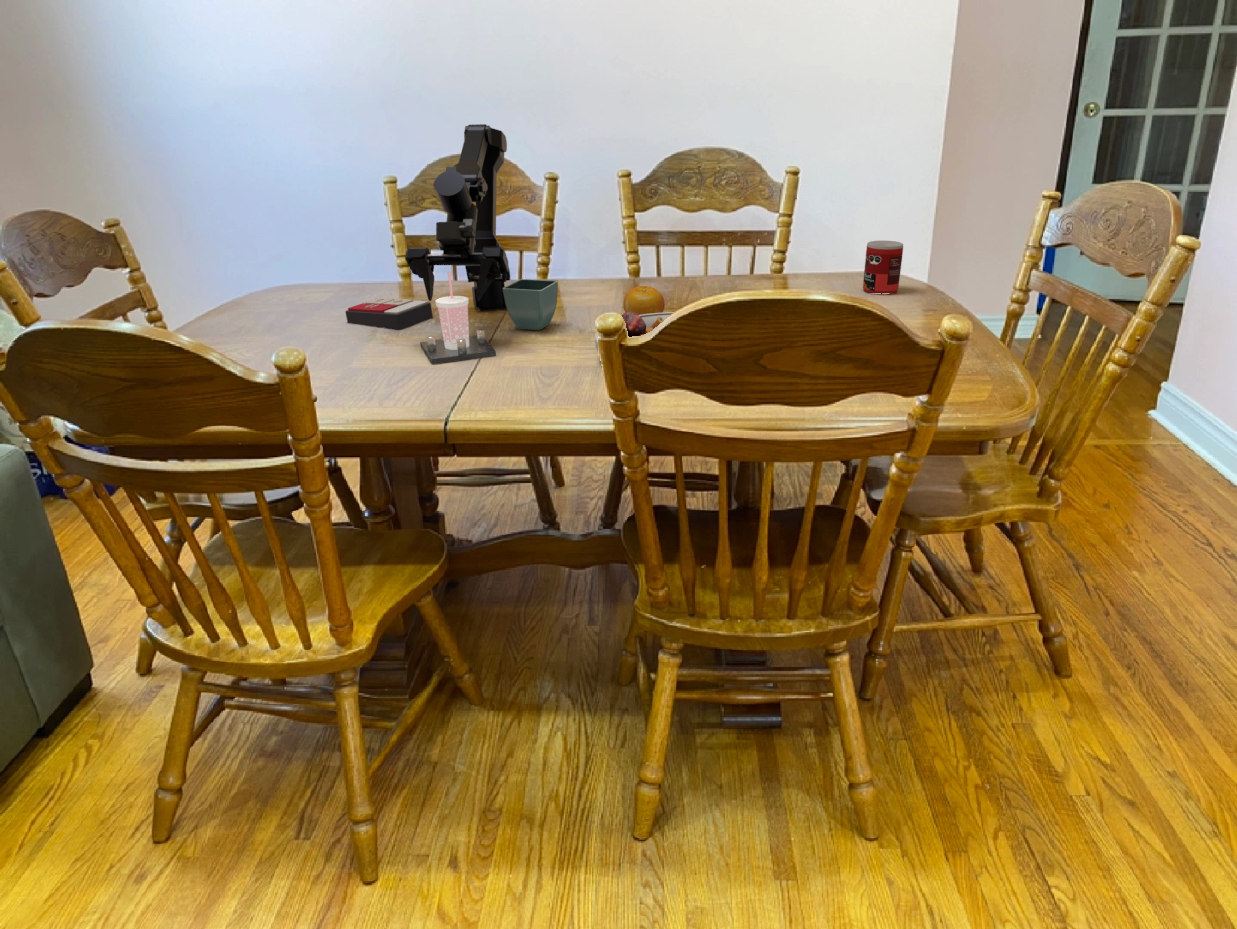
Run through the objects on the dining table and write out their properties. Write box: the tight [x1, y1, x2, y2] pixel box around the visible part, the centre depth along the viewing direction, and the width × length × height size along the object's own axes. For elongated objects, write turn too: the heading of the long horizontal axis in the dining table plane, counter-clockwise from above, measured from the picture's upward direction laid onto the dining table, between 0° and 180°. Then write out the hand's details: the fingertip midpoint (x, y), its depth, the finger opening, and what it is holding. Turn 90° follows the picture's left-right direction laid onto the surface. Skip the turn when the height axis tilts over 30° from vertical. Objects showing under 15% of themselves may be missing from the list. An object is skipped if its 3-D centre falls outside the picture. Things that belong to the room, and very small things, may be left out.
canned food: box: [862, 240, 904, 294], centre depth 194 cm, size 8×8×11 cm
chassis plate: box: [419, 328, 497, 365], centre depth 161 cm, size 12×12×4 cm
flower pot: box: [503, 278, 559, 331], centre depth 174 cm, size 9×9×9 cm
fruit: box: [622, 285, 666, 315], centre depth 178 cm, size 8×8×8 cm
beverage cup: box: [434, 271, 470, 350], centre depth 158 cm, size 6×6×14 cm
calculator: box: [344, 297, 434, 331], centre depth 183 cm, size 11×4×15 cm
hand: (453, 299), depth 158 cm, fingers open, 9 cm apart
